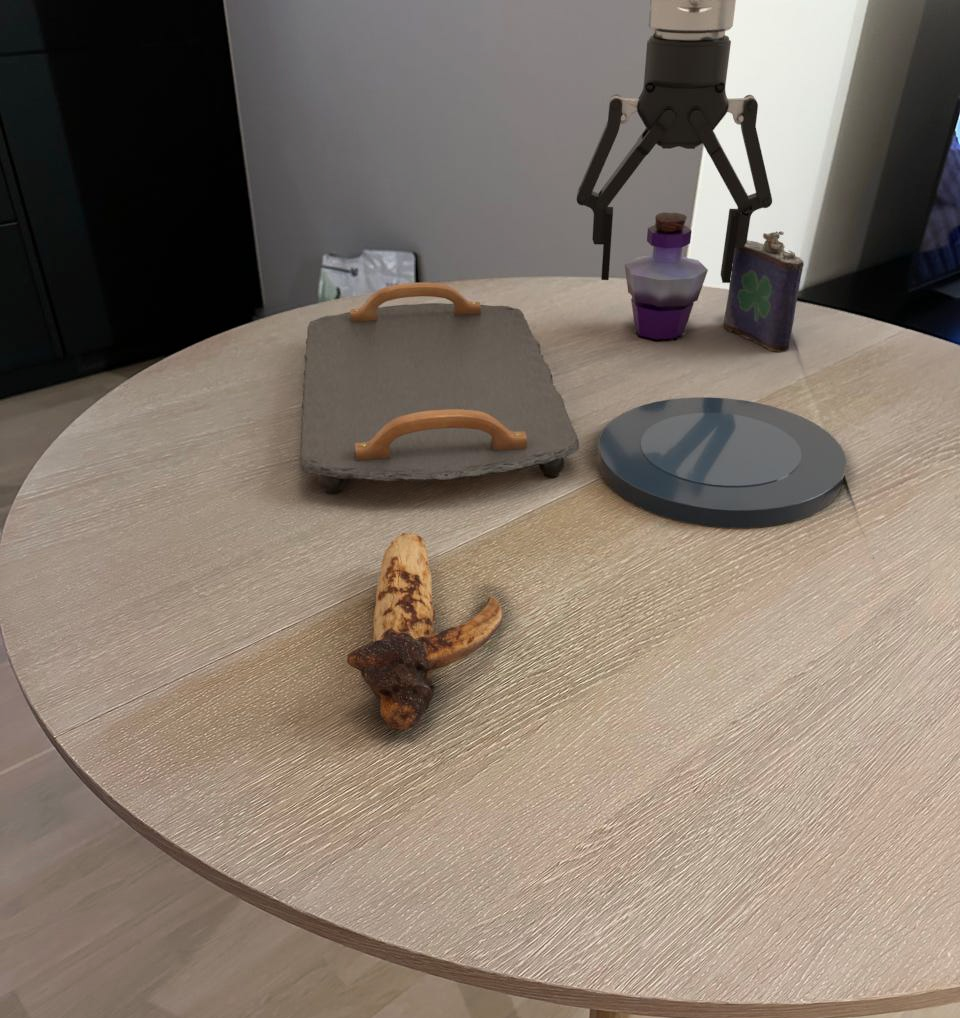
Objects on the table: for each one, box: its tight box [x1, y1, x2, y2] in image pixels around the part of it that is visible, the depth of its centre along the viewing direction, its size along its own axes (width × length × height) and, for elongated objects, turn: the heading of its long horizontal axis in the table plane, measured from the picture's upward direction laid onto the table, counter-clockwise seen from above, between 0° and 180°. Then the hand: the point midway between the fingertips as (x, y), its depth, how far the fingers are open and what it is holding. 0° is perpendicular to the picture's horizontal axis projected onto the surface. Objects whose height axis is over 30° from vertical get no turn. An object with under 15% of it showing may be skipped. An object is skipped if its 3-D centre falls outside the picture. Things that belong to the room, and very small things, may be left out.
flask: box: [723, 230, 805, 353], centre depth 99 cm, size 9×3×11 cm, turn 28°
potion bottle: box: [624, 211, 709, 343], centre depth 100 cm, size 9×9×12 cm
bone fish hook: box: [346, 532, 504, 730], centre depth 61 cm, size 9×5×18 cm
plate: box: [596, 396, 847, 529], centre depth 80 cm, size 20×20×2 cm
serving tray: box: [299, 281, 580, 496], centre depth 89 cm, size 39×23×6 cm, turn 7°
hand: (664, 277), depth 100 cm, fingers open, 12 cm apart
